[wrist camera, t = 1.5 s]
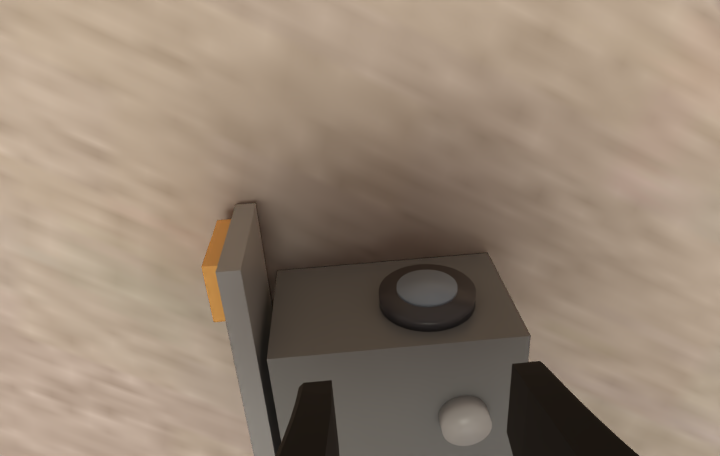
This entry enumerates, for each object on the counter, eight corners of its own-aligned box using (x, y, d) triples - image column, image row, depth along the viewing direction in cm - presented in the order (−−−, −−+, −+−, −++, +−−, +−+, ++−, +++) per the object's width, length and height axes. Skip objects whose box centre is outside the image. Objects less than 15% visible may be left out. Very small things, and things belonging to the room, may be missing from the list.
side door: (301, 469, 26) (298, 563, 22) (270, 472, 26) (262, 567, 22) (259, 202, 20) (245, 269, 16) (219, 205, 20) (195, 273, 16)
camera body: (478, 439, 27) (514, 557, 22) (304, 455, 26) (301, 578, 21) (488, 237, 22) (538, 331, 17) (275, 255, 21) (262, 355, 16)
